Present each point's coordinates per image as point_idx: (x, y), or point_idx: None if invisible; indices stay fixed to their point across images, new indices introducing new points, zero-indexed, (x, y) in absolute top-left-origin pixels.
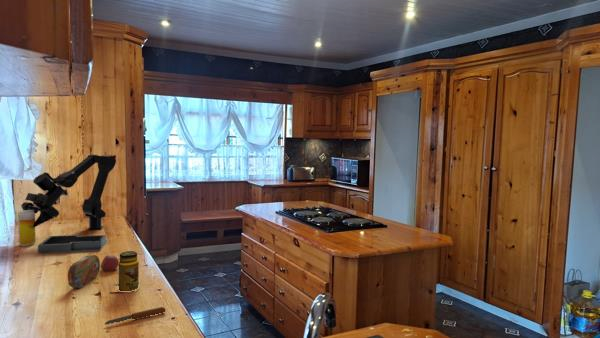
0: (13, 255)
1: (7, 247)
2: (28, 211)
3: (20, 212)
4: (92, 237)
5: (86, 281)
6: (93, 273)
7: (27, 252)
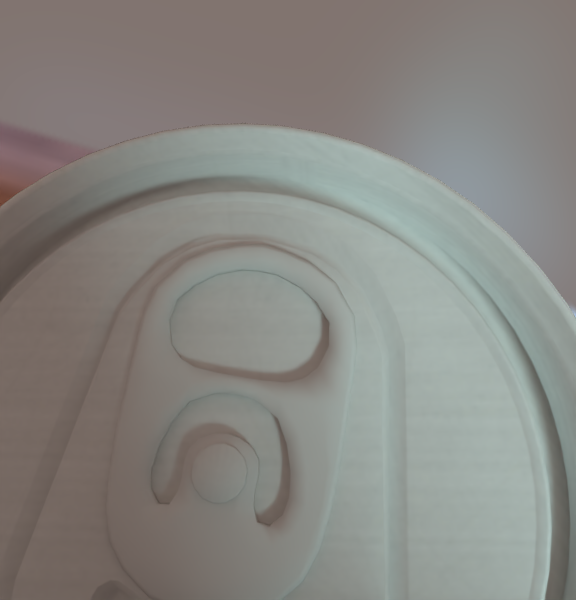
0: (14, 186)
1: None
2: (143, 589)
3: (128, 145)
4: None
5: None
6: None
7: None
